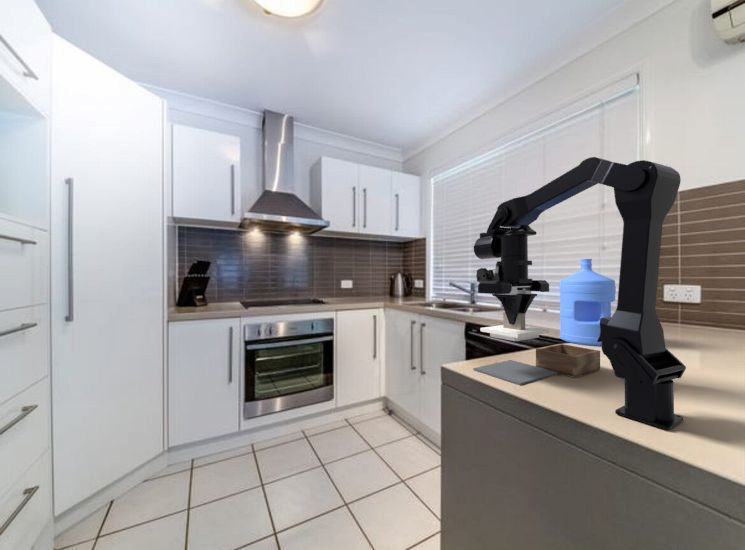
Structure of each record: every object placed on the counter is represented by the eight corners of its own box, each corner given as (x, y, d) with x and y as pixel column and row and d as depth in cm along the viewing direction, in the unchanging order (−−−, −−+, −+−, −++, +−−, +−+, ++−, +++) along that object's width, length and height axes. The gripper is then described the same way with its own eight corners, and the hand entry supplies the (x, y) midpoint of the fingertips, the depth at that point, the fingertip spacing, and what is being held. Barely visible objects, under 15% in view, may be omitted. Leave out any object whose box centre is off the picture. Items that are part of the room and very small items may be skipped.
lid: (517, 343, 64) (517, 316, 64) (480, 335, 72) (480, 312, 72) (549, 337, 70) (548, 313, 70) (511, 331, 78) (511, 309, 78)
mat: (520, 385, 62) (520, 383, 62) (473, 369, 72) (473, 368, 72) (558, 373, 69) (558, 372, 69) (510, 361, 79) (510, 359, 79)
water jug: (549, 337, 110) (548, 260, 110) (586, 336, 113) (585, 260, 113) (587, 347, 94) (586, 257, 95) (629, 345, 97) (628, 257, 97)
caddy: (576, 377, 66) (575, 357, 66) (535, 367, 74) (535, 348, 74) (600, 369, 72) (600, 350, 72) (560, 360, 80) (560, 343, 80)
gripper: (508, 259, 82) (509, 317, 82) (459, 257, 73) (459, 322, 73) (550, 257, 73) (550, 322, 73) (499, 254, 63) (500, 329, 63)
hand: (514, 323), depth 71 cm, fingers closed on lid
